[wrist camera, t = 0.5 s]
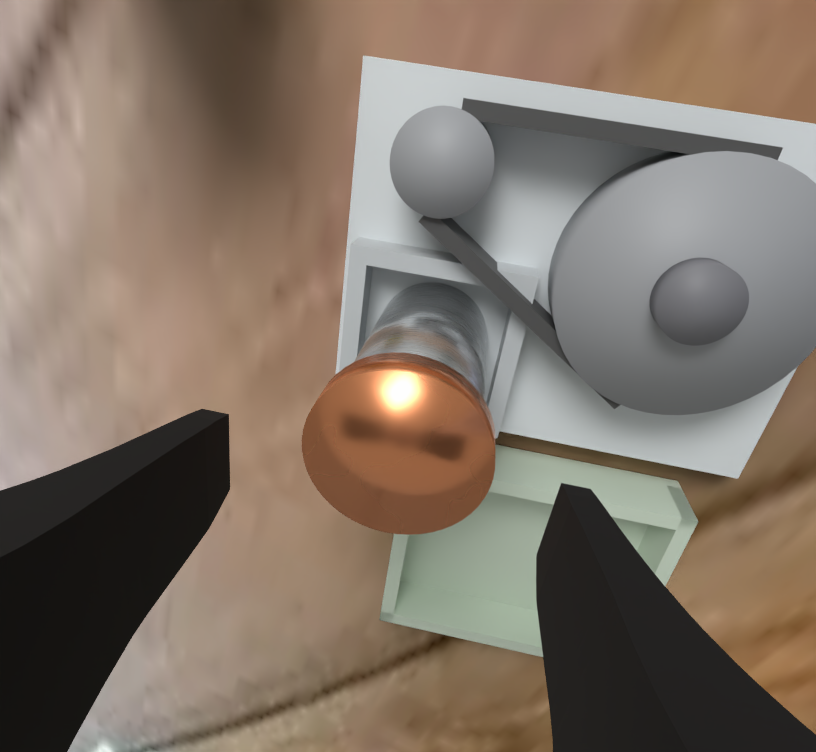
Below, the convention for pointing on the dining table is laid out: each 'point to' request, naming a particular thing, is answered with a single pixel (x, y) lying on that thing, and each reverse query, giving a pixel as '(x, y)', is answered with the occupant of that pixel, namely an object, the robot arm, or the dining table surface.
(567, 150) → the pulley board
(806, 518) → the dining table surface
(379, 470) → the pin
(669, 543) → the tray
